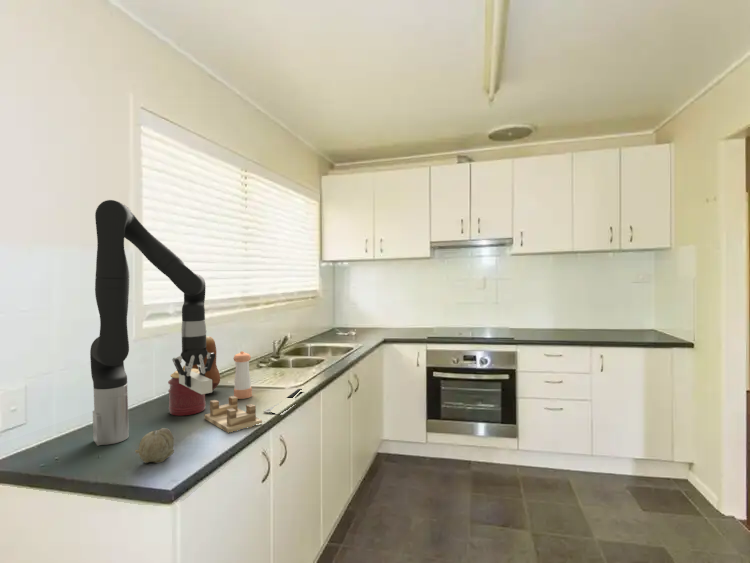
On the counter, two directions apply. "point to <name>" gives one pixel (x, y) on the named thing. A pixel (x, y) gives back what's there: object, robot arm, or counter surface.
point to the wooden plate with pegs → (232, 415)
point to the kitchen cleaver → (280, 402)
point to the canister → (184, 397)
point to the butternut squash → (214, 372)
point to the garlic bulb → (156, 446)
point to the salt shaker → (242, 376)
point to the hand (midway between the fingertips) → (195, 385)
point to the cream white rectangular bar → (198, 383)
